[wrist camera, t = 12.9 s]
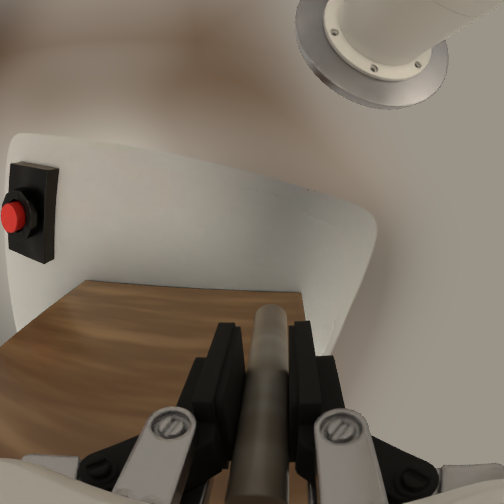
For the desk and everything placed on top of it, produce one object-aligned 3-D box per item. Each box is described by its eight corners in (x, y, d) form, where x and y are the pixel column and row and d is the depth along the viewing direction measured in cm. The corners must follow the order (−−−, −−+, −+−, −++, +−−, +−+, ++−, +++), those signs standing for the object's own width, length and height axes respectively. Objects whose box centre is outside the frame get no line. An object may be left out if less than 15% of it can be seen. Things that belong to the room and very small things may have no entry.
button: (10, 198, 28) (0, 201, 26) (26, 203, 28) (16, 206, 26) (9, 226, 29) (0, 229, 27) (25, 232, 29) (16, 235, 27)
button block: (21, 162, 30) (1, 164, 26) (59, 168, 30) (37, 171, 26) (18, 244, 33) (0, 252, 30) (54, 258, 33) (35, 269, 30)
